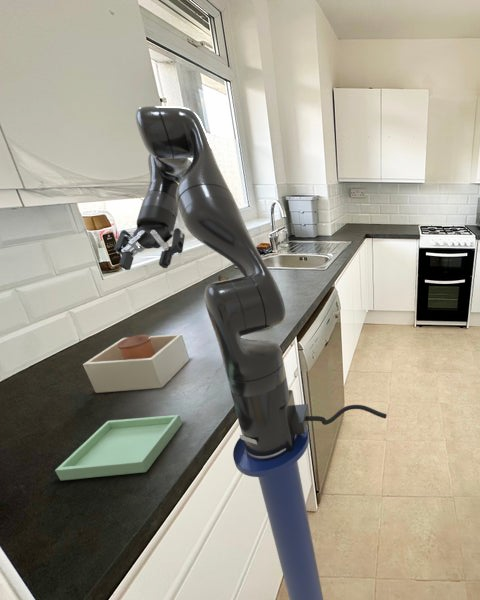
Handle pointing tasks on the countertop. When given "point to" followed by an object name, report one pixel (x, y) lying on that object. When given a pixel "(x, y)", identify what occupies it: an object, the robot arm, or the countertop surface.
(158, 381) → the cream storage bin
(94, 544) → the countertop surface
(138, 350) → the terracotta pot
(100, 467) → the shallow green tray
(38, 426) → the countertop surface
